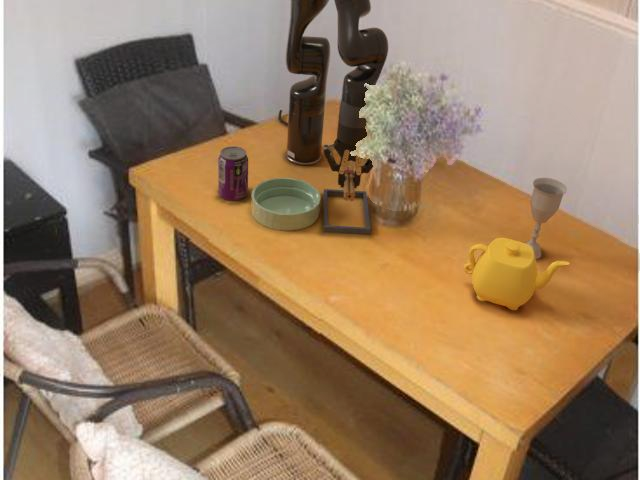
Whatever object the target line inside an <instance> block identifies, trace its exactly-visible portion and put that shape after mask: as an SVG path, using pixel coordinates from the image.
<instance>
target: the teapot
mask: <svg viewBox="0 0 640 480" xmlns="http://www.w3.org/2000/svg"><path fill="white" fill-rule="evenodd" d="M476 250H478V251H482V252H481V253H480V255H479V257H478V258H477V260H476V258H475V251H476ZM468 258H469V262H467V263H465V264H464V267H463V270H464V272H465V273H466V274H468V275H471V283H472V287H473V291H474V292H475V294H476V299H477V300H479V301H480V302H490V303H493V304H495V305H500V306H503V307H507V309H509V310H511V311H517V310H518V309H519V307H521V306H523V305H525V304H526V303H527V302H528V301H529V300H530V299H531V298H532V296H533V295H534V293H535V291H536V290H540V289H543V288H545V287H546V286H547V285H548V284H549V283H550V281H551V280H552V278H553V276H554V274H555V273H556V272H557V271H558V269H560V268H561V267H565V266H569V265H570V264H571V263H570V262H569V261H566V260H556V261H553V262H552V263H550V265H549V266H548V267H547V268H546V270H545V271H543V272H538V266H537V259H535V254H534V251H533V249H532V247H531V246H530V245H528V244H525V242H523V241H519V240H517V239H516V240H515V239H511V238H508V237H496V238H495V239H493V240H492V241H491V242H490V243H489V244H488V245H486V244H484V243H475V244H474V245H472V246H471V247H470V248H469V250H468Z"/></svg>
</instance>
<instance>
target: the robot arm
mask: <svg viewBox="0 0 640 480" xmlns="http://www.w3.org/2000/svg"><path fill="white" fill-rule="evenodd" d="M329 2H330V0H290V11H289V12H290V13H289V23H288V32H287V39H286V47H285V66H286V67H285V68H286V70H287V71H288V72H289V73H290V74H294V75H302V76H303V75H305V76H309V77H308V78H306V79H303V80H299V81H297V82H295V83H294V84H292V85H291V86H290V88H289V99H288V120H287V121H288V122H286V121H285V120H283V119H282V113H283V109H279V111H278V117H277V118H278V120H279V122H280V123H281V124H283V125H285V126H287V141H286V152H285V157H286V160H287V161H289V163H292V164H294V165H298V166H313V165H316V164H318V163H319V162H321V159H322V145H323V134H324V133H323V132H324V122H325V110H326V96H327V82H328V76H329V75H328V74H329V68H330V61H331V43H330V40H329V39H328V38H327V37H324V36H323V37H322V36H311V35H310V36H309V35H304V33H305V31H306V30H307V28H308V27H309V26H310V24H311V23H312V22H313V21H314V20H315V19H316V18H317V17H318V16H319V14H321V13H322V11H323V10H324V9H326V7H327V5H328V3H329ZM333 2H334V5H335V8H336V12H337V51H338V55H339V58H340V59H341V61H342V62H343V63H344V64H345V65H346V66H348V67H350V68H354V69H353V70H351V71H349V72H348V73H346V74H345V76H344V78H343V82H342V90H341V99H340V100H341V101H340V105H339V111H338V121H337V130H336V139H335V140H334V141H333V143H332V144H330V145H328V144H324V145H323V155H324V157H325V159H326V161H327V164H328V166H329V167H330V170H331V171H332V172H337V173H338V175H337V185H338V186H340V188H341V189H344V188H343V187H344V179H345V167H346V166H348V162H354V163H355V170H354V186H355V189H357V187H360V185H361V177H362V175H363V174H369V173H370V172H371V171H372V169H373V168H374V166H373V165H372V161H371V160H370V159H369V158H368V159H367V160H366V161H365V163H364V164H363V165H362V160H364V158H360V157H358V156H357V155H356V156H351V154H350V152H351V151H354V150H356V146H355V145H356V143H357V142H358V141H360V140H362V139H363V138H365V137H366V136H367V132H366V129H365V126H366V122H367V121H366V119H365V118H359V111H360V109H361V108H362V107H364V106H365V105H366V103H365V101H364V98H365V92H366V91H367V90H368V89H367V88H366V86H365V87H364V84H365V83H367V84H369V85H376V86H377V83H378V81H379V79H380V77H381V74H382V71H383V68H384V67H385V63H386V61H387V58H388V54H389V40H388V37H387V34H386V32H384V30H382V29H381V28H379V27H367V28H363V29H360V28H359V27H360V26H359V25H360V20H361V19H362V18H364V17H366V16H367V15H369V14H370V12H371V10H372V5H371V0H334V1H333ZM335 151H336V153H337V154H338V156H339V157H340V158H339V159H340V160H339V163H338V162H337V161H336V159H335V157H334V154H335Z"/></svg>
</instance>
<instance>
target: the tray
mask: <svg viewBox="0 0 640 480" xmlns="http://www.w3.org/2000/svg"><path fill="white" fill-rule="evenodd" d="M328 197H341V198H342V197H343V198H344V189H332V188H329V189H328V188H324V189H323V233H331V234H347V235H348V234H349V235H350V234H351V235H366V236H370V235H371V221H370V211H369V203H368V193H367V191H364V190H355V196H354V197H355V198H360V199H362V204H363V214H364V225H365V226H364V227H363V226H347V225H329V211H328V209H329V208H328V207H329V206H328Z"/></svg>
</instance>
